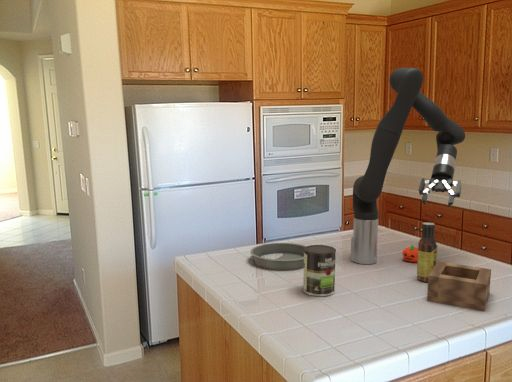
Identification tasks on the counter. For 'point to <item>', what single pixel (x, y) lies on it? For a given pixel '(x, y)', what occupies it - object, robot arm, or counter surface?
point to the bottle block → (459, 285)
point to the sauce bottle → (426, 252)
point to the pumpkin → (410, 254)
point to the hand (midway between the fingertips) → (436, 204)
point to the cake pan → (287, 261)
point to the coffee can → (319, 270)
